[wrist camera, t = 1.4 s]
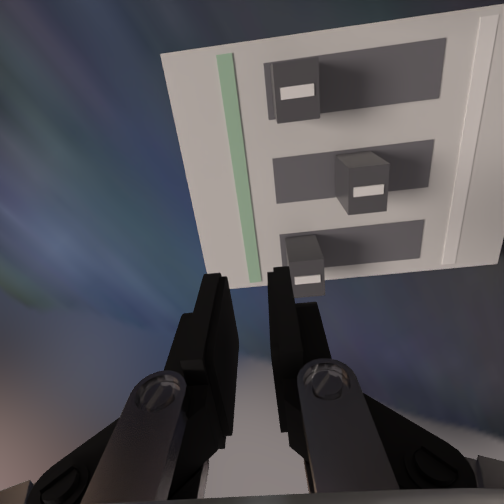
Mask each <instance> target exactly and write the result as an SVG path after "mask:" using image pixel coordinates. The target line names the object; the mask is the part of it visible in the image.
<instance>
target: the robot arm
mask: <svg viewBox="0 0 504 504" xmlns="http://www.w3.org/2000/svg"><path fill="white" fill-rule="evenodd" d="M267 280H268V303H269V325H270V347H271V359H272V367H273V375H274V383H275V390H276V398H277V405H278V413H279V421H280V429H281V432H288V437H289V446H290V447H291V448H292V449H293V450H295V451H296V452H297V453H298V454H299V455H301V456H302V457H303V458H304V465H305V472H306V478H307V485H308V491H309V494H289V495H268V496H247V497H226V498H205V499H204V494H205V488H206V482H207V476H208V470H209V458H210V457H211V456H212V455H213V454H214V453H215V452H216V451H217V450H218V449H224V448H225V441H226V436H231V435H232V433H233V419H234V407H235V393H236V379H237V366H238V352H239V339H238V332H237V327H236V321H235V316H234V310H233V305H232V299H231V294H230V289H229V283H228V278H227V276H222V275H221V273H210V274H204V276H203V279H202V283H201V286H200V290H199V293H198V297H197V301H196V304H195V308H194V311H193V313H184V314H183V315H182V316H181V319H180V322H179V325H178V328H177V331H176V334H175V337H174V340H173V343H172V347H171V350H170V353H169V356H168V359H167V362H166V365H165V368H164V371H159V372H156V373H153V374H150V375H149V376H147V377H145V378H144V379H142V380H141V381H140V382H139V383H138V384H137V385H136V386H135V387H134V389H133V390H132V392H131V393H130V396H129V398H128V400H127V402H126V404H125V407H124V409H123V411H122V413H121V415H120V418H118V419H117V420H115V421H114V422H113V423H111V424H110V425H109V426H107V427H106V428H104V429H103V430H102V431H100V432H99V433H98V434H96V435H95V436H93V437H92V438H91V439H89V440H88V441H86V442H85V443H84V444H82V445H81V446H79V447H78V448H77V449H75V450H74V451H73V452H71V453H70V454H68V455H67V456H66V457H64V458H63V459H61V460H60V461H59V462H57V463H56V464H55V465H53V466H52V467H51V468H50V469H49V470H47V471H46V472H45V473H44V474H43V475H42V476H41V477H40V479H39V480H38V481H37V482H36V483H34V484H33V483H32V482H31V480H28V481H25V482H23V483H20V484H17V485H15V486H12V487H9V488H7V489H4V490H2V491H0V504H504V461H499V460H496V459H492V458H487V457H483V456H479V455H478V457H477V460H475V459H471V458H467V457H464V456H463V455H462V454H461V453H460V452H459V451H458V450H457V449H455V448H454V447H453V446H451V445H450V444H449V443H447V442H445V441H444V440H442V439H440V438H439V437H437V436H435V435H434V434H432V433H430V432H428V431H426V430H425V429H423V428H422V427H420V426H418V425H417V424H415V423H413V422H412V421H410V420H408V419H406V418H405V417H403V416H401V415H400V414H398V413H396V412H395V411H393V410H391V409H389V408H388V407H386V406H384V405H383V404H381V403H379V402H378V401H376V400H374V399H373V398H371V397H369V396H367V395H366V394H364V393H362V390H361V387H360V385H359V382H358V380H357V377H356V375H355V374H354V372H353V370H352V369H350V368H349V367H348V366H347V365H346V364H344V363H342V362H340V361H338V360H334V359H331V355H330V351H329V347H328V343H327V339H326V335H325V332H324V328H323V324H322V320H321V316H320V312H319V309H318V305H317V302H308V303H297V304H295V300H294V294H293V288H292V282H291V276H290V269H289V266H282V267H273V272H267Z"/></svg>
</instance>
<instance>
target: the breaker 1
mask: <svg viewBox="0 0 504 504" xmlns="http://www.w3.org/2000/svg"><path fill="white" fill-rule="evenodd" d="M270 71H271V83H272V94H273V106H274V117H275V119H276V122H277V124H280V123H288V122H296V121H304V120H312V119H319V118H320V91H319V57H314V58H307V59H300V60H292V61H285V62H278V63H272V64H271V65H270Z"/></svg>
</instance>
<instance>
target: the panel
mask: <svg viewBox="0 0 504 504" xmlns="http://www.w3.org/2000/svg"><path fill="white" fill-rule="evenodd" d="M160 55H161V60H162V64H163V69H164V74H165V79H166V83H167V88H168V93H169V97H170V102H171V107H172V111H173V116H174V121H175V125H176V130H177V135H178V139H179V144H180V149H181V153H182V158H183V163H184V167H185V172H186V177H187V181H188V186H189V191H190V195H191V200H192V205H193V209H194V214H195V219H196V223H197V228H198V233H199V238H200V242H201V247H202V252H203V256H204V261H205V266H206V270H207V274H210V273H221V275H222V276H227V278H228V283H229V289H234V288H245V287H255V286H266V285H268V280H267V272H273V267H282V266H287V258H286V246H285V238H287V237H297V236H307V235H316V238H317V241H318V244H319V246H320V249H321V252H322V255H323V257H324V274H325V280H330V279H341V278H352V277H362V276H373V275H384V274H394V273H405V272H416V271H427V270H437V269H448V268H459V267H469V266H480V265H491V264H497V263H498V259H499V255H500V251H501V246H502V242H503V238H504V4H499V5H492V6H486V7H479V8H472V9H465V10H458V11H451V12H445V13H438V14H431V15H424V16H417V17H410V18H403V19H397V20H390V21H383V22H376V23H369V24H362V25H356V26H349V27H342V28H335V29H328V30H321V31H314V32H308V33H301V34H294V35H287V36H280V37H273V38H267V39H260V40H253V41H246V42H239V43H232V44H225V45H219V46H212V47H205V48H198V49H191V50H184V51H178V52H171V53H164V54H160ZM314 57H319V91H320V118H319V119H312V120H304V121H296V122H288V123H280V124H277V122H276V119H275V117H274V106H273V94H272V83H271V71H270V65H271V64H272V63H278V62H285V61H292V60H300V59H307V58H314ZM363 151H371V152H373V153H374V154H376V155H377V156H379V157H380V158H382V159H383V160H385V161H387V162H388V163H390V169H389V184H388V200H387V211H384V212H375V213H365V214H356V215H348V214H347V213H346V211H345V210H344V208H343V206H342V205H341V203H340V202H339V200H338V199H337V197H336V196H335V155H338V154H346V153H354V152H363Z"/></svg>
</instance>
